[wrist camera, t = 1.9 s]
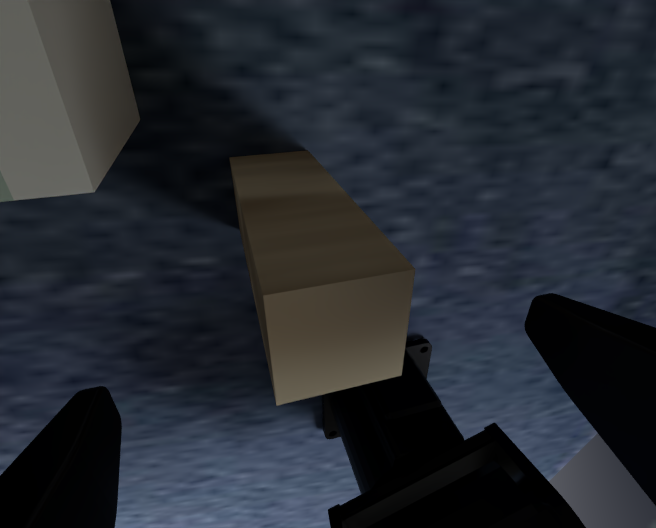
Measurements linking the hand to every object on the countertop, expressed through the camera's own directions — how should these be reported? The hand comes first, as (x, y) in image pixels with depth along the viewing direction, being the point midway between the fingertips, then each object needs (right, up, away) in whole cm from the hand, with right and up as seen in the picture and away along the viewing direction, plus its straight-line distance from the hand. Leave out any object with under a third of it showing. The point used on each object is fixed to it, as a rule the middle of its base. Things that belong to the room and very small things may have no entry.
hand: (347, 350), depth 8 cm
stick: (-3, +5, +7) cm, 9 cm away
